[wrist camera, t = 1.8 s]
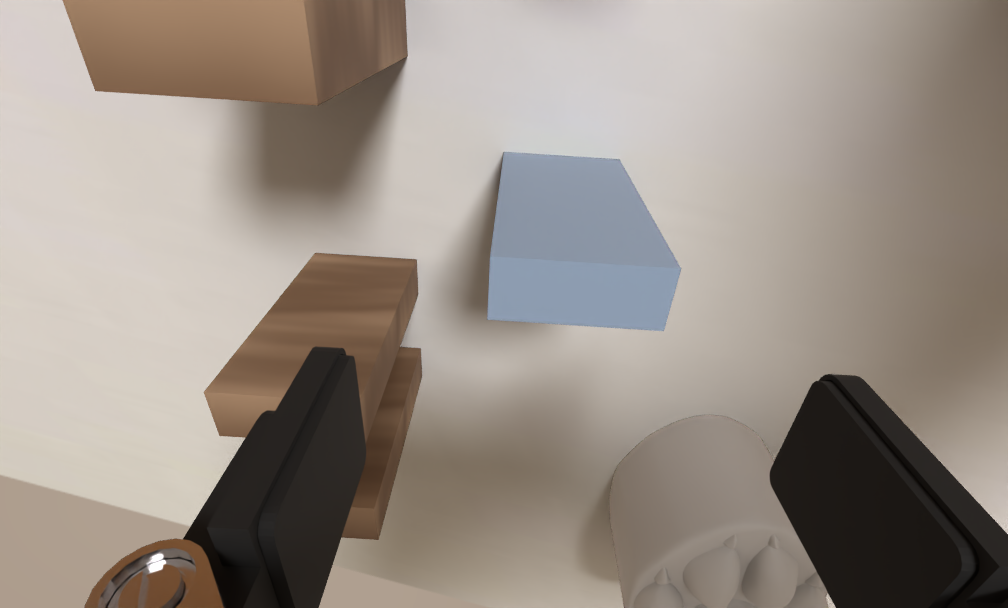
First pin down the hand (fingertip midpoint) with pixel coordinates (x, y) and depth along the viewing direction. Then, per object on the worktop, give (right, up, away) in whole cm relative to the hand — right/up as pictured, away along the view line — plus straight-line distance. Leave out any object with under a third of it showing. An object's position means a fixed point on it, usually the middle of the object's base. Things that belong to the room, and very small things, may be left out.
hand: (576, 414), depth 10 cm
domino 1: (-8, +13, +9) cm, 18 cm away
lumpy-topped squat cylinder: (+11, -10, +23) cm, 27 cm away
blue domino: (+1, +8, +12) cm, 14 cm away
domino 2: (-8, +4, +15) cm, 17 cm away
